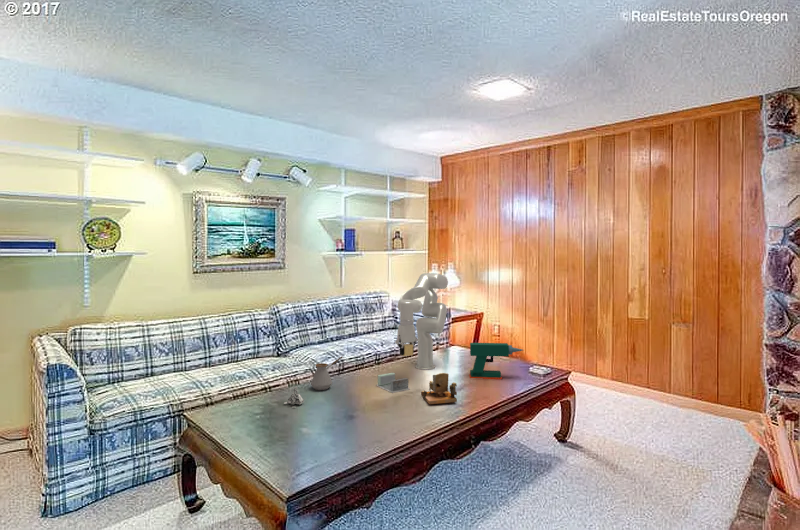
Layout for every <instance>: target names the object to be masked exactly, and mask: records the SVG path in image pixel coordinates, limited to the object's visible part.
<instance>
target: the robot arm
mask: <svg viewBox="0 0 800 530" xmlns="http://www.w3.org/2000/svg"><path fill="white" fill-rule="evenodd" d="M448 284H449V281H448V277H447V276H445V275H443V274H440V273H436V272H435V273H434V272H433V273H432V272H431V273H429V272H426V273H421V274H420V275H419V276H418V278H417V280H416V283H415V284H414V286H413V287H411V288H410V289H408V290H407V291H405V292H403V294H402V295H401V296H400V297H399V300H398V302H397V309H398V312H400V313H399V315H400V316H399V325H398V327H397V328H398V329H397V334H396V335H397V337H396V338H397V339H396V340H394V343H395V344H396V345H397V347H398V348H399V355H400V356H402V355H404V348H403V346H404V344H413V353H414V349H415V348H414V347H415V345H416V344H417V359H415V361H414V362H415V363H416V364H415V365H414V367H416V368H415V369H417V368H418V369H417V370H421V369H422V370H423V371H427V370H428V371H429V369H430V370H433V369H436V365H435V364H434V363H433V362H434V359H433V357H434V353H433V352H434V349H433V347H434V345H433V344H434V342H433V337H432V334H442V333H443V331H444V328H445V323H446V318H447V312H448V311H447V310H448V309H447V306H446V304H445V303H443V302H438V299H439V297H438V294H437V293H436V292H435V290H436V289H437V290H440V289H441V290H444V289H447V288H448ZM434 289H435V290H434ZM423 297H424V298H423ZM420 298H423V304H422V302H421V301H420V300H418V299H420ZM420 312H421V315H422V316H423V317H419V318H417V320H416V322H415V320H414V314H415V313H416V314H418V313H420ZM414 323H415V325H414ZM415 327H416V328H415ZM416 333H417V335H416ZM422 370H421V371H422Z"/></svg>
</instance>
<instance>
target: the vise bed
mask: <svg viewBox="0 0 800 530" xmlns="http://www.w3.org/2000/svg"><path fill="white" fill-rule="evenodd" d="M376 386H377V387H379V388H380V389H383V390H385V391H387V392H389V393H392V394H393V393H400V392H405V391H409V390H410V387H409V378H407V377H403V378H398V379H395V380H392V381H391V383H389V384H384V385H378V383H377V384H376Z"/></svg>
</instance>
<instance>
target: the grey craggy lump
mask: <svg viewBox="0 0 800 530" xmlns="http://www.w3.org/2000/svg"><path fill="white" fill-rule="evenodd" d="M292 392H293V393H291V395H290V396H289V398H288V399H287V401H286V402H284V404H290V405H295V404H296V405H301V404H303V403H305V399H303V397H302V396H301V395H300V393H298V388H297V386H295V387H294V388H293V390H292ZM292 408H296V406H292Z"/></svg>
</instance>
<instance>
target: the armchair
mask: <svg viewBox="0 0 800 530" xmlns="http://www.w3.org/2000/svg"><path fill="white" fill-rule="evenodd" d="M449 377H450V376H449V373H448V372H447V373H446V372H439V373H436V374H432V380H430V381H429V382H428V384H429V385H428V388H429V389H428V390H429V391H426V390H422V391H421V392H420V393H421V396H422V398H423V399H424V401H426V402H427V404H429V405H436V404H437V405H438V404H448V403H457V402H458V398H457V397H456V396H457V395H458V394H457V393H458V392H457V390H456V389H457V387H458V384H457V383H456V382H452V383H450V384H449Z"/></svg>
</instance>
